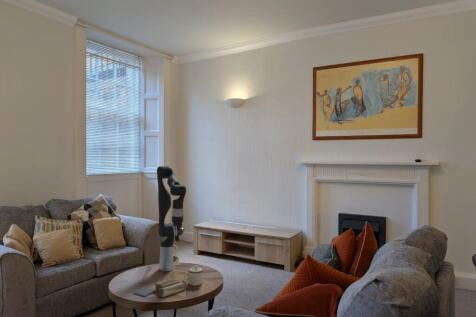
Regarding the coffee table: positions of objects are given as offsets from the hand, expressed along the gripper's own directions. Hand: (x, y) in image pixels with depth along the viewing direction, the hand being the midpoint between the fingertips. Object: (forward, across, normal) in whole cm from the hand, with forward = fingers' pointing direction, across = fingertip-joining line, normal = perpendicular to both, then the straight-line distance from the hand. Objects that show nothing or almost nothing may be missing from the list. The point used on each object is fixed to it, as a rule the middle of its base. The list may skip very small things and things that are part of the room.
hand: (177, 241), depth 222 cm
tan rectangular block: (+27, +8, -13) cm, 31 cm away
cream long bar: (+26, +14, -13) cm, 33 cm away
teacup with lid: (+26, +12, +5) cm, 29 cm away
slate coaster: (+26, +3, -25) cm, 37 cm away
